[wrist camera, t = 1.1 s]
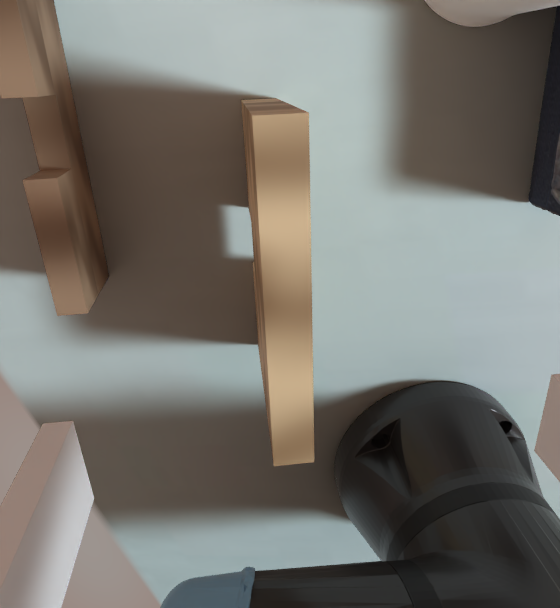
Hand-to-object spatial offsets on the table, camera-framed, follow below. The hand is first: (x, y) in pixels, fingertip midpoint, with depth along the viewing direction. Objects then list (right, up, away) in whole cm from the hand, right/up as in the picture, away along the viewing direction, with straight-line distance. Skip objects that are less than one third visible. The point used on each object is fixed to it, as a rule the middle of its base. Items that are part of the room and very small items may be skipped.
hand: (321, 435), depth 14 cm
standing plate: (-13, +14, +14) cm, 24 cm away
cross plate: (-2, +8, +18) cm, 20 cm away
